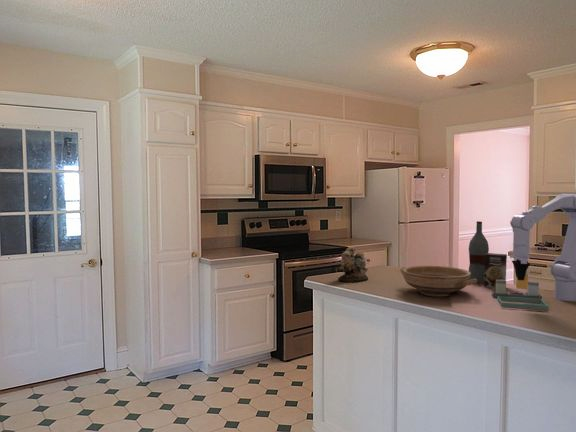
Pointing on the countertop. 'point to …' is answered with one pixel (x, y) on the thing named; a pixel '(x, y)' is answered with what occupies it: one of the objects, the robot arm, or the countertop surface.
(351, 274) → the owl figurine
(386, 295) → the countertop surface
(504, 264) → the coffee box
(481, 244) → the bottle
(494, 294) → the fuse holder
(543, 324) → the countertop surface
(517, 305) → the parts tray
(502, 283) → the block
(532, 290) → the grey rectangular block
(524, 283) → the block
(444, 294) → the ceramic bowl
